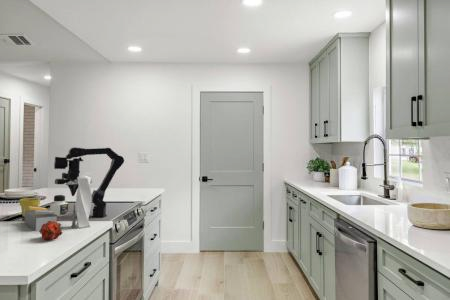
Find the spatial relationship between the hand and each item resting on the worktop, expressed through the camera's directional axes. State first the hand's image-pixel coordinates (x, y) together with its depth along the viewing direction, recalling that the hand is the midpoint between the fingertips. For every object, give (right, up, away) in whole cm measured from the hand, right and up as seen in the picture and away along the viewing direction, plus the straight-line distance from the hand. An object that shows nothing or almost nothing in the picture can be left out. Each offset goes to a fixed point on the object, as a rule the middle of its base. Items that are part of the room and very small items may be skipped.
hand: (72, 196), depth 189 cm
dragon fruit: (+11, -13, -44) cm, 47 cm away
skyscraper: (+14, -13, -19) cm, 27 cm away
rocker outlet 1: (-12, -5, -15) cm, 20 cm away
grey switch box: (-8, -13, -20) cm, 25 cm away
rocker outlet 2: (-3, -5, -24) cm, 25 cm away
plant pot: (-28, -13, +4) cm, 31 cm away
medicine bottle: (-13, -13, +9) cm, 20 cm away
